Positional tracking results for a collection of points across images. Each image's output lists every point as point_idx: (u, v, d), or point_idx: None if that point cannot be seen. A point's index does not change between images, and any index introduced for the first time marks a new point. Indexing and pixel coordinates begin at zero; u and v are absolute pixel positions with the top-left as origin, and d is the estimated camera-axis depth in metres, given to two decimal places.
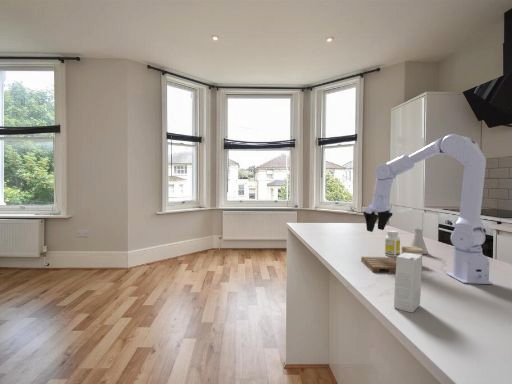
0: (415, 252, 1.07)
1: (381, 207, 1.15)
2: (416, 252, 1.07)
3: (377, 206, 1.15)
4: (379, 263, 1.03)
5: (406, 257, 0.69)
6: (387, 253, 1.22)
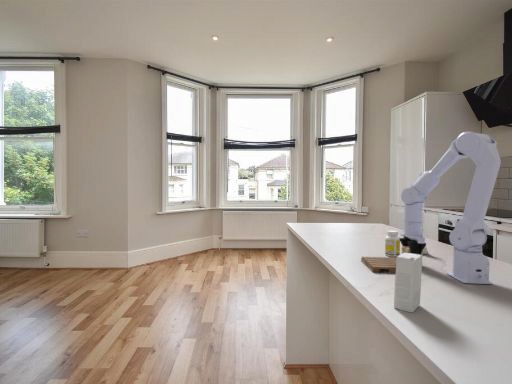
0: None
1: (420, 234, 1.07)
2: None
3: (418, 233, 1.07)
4: (379, 263, 1.03)
5: (406, 257, 0.69)
6: (387, 253, 1.22)
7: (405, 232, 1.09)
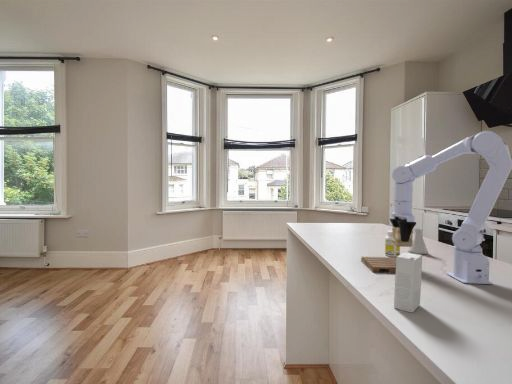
0: None
1: (411, 213, 1.06)
2: None
3: (408, 212, 1.05)
4: (379, 263, 1.03)
5: (406, 257, 0.69)
6: (387, 253, 1.22)
7: (395, 212, 1.07)
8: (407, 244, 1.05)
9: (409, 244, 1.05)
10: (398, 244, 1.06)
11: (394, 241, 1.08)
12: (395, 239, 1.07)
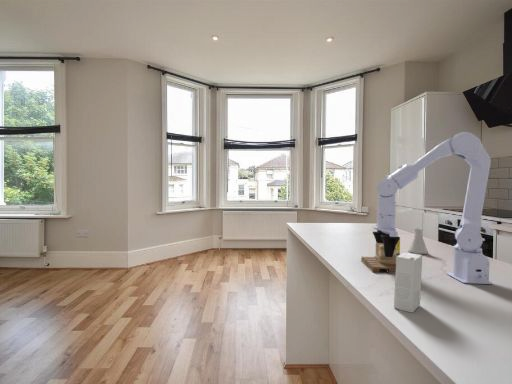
0: None
1: (394, 227, 1.03)
2: None
3: (390, 226, 1.02)
4: (379, 263, 1.03)
5: (406, 257, 0.69)
6: None
7: (378, 225, 1.05)
8: (391, 261, 1.03)
9: (392, 262, 1.03)
10: (381, 261, 1.03)
11: (377, 258, 1.06)
12: (378, 255, 1.05)
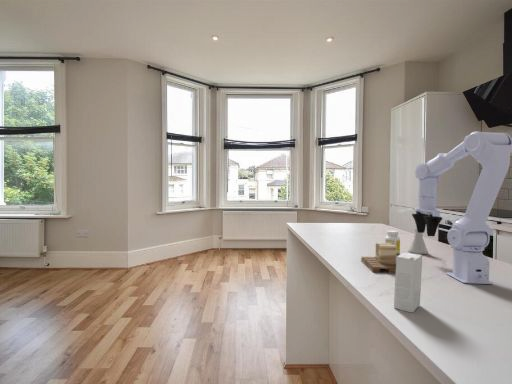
0: (388, 249, 1.03)
1: (435, 208, 1.10)
2: (389, 249, 1.03)
3: (432, 208, 1.09)
4: (379, 263, 1.03)
5: (406, 257, 0.69)
6: None
7: (419, 207, 1.11)
8: (391, 261, 1.03)
9: (392, 262, 1.03)
10: (381, 261, 1.03)
11: (377, 258, 1.06)
12: (378, 255, 1.05)
